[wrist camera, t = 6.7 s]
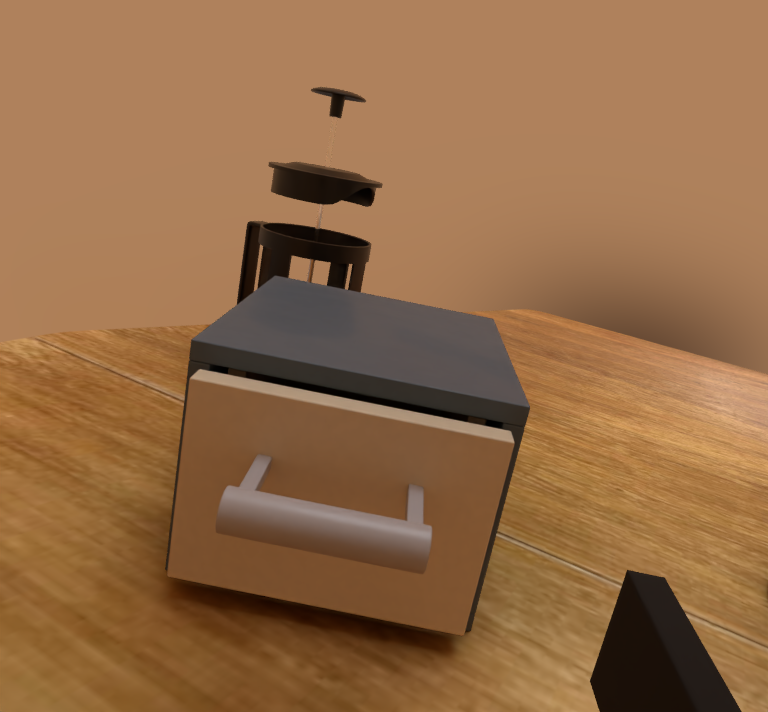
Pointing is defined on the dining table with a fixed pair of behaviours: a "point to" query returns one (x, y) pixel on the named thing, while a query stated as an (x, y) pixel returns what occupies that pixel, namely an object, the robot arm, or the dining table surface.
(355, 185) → the french press
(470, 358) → the cabinet
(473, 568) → the drawer
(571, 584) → the dining table surface
